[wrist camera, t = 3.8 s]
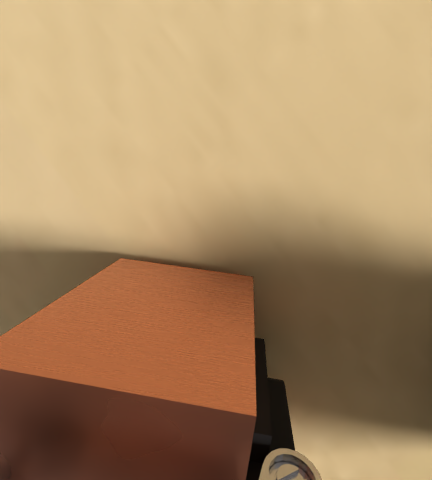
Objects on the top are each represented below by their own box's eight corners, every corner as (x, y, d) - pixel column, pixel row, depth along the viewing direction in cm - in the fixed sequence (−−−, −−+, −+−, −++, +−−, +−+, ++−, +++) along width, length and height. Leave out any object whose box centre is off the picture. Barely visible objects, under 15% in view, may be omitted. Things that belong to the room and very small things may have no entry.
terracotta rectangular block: (120, 257, 11) (-39, 361, 5) (253, 276, 10) (256, 416, 4) (117, 409, 12) (-3, 622, 6) (230, 431, 12) (211, 682, 6)
